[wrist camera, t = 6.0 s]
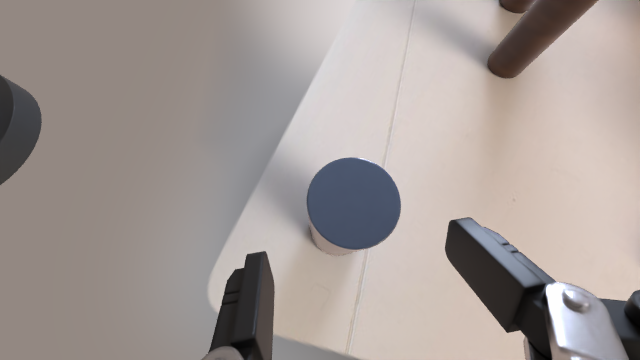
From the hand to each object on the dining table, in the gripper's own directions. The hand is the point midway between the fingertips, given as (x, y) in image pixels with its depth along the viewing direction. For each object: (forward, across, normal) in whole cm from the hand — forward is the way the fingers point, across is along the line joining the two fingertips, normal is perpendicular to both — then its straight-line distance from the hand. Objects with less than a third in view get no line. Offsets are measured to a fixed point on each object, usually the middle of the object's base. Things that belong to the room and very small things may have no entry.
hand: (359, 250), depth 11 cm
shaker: (+7, 0, +4) cm, 8 cm away
